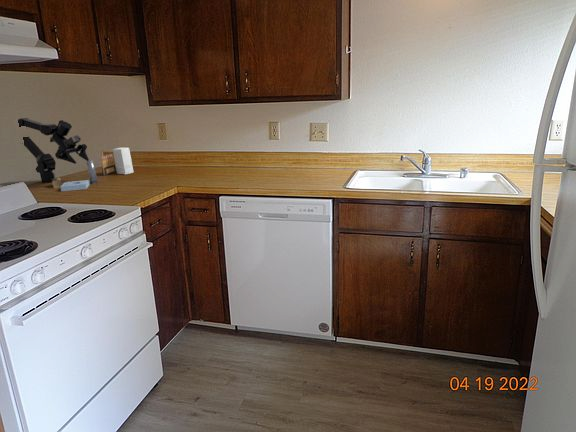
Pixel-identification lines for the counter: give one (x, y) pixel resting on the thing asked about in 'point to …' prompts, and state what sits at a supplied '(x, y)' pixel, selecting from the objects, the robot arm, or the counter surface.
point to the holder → (75, 185)
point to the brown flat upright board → (108, 165)
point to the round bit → (92, 171)
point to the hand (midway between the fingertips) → (82, 161)
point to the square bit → (56, 182)
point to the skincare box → (123, 160)
